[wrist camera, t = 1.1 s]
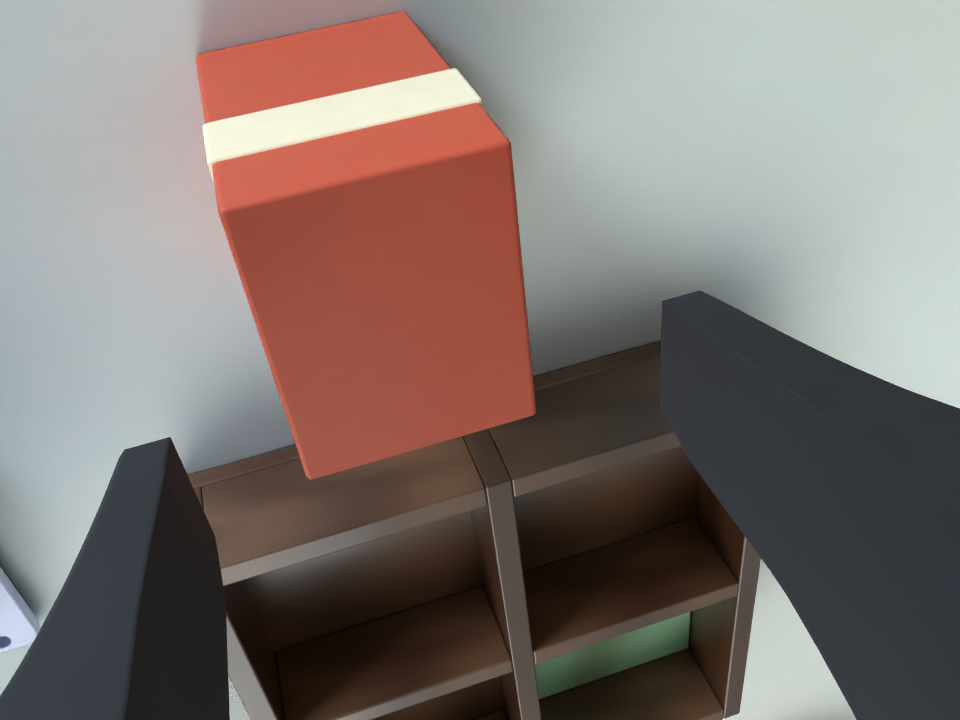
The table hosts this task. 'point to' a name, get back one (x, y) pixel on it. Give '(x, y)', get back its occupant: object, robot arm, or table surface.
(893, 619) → the robot arm
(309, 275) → the red cream striped block
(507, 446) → the organiser
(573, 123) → the table surface
